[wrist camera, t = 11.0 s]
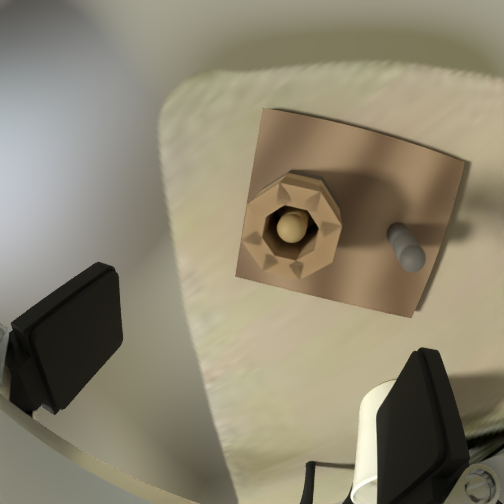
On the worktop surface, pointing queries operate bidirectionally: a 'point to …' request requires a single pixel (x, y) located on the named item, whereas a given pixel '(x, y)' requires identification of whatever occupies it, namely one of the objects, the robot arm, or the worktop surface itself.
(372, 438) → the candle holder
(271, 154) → the pin board
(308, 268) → the sleeve
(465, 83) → the worktop surface
